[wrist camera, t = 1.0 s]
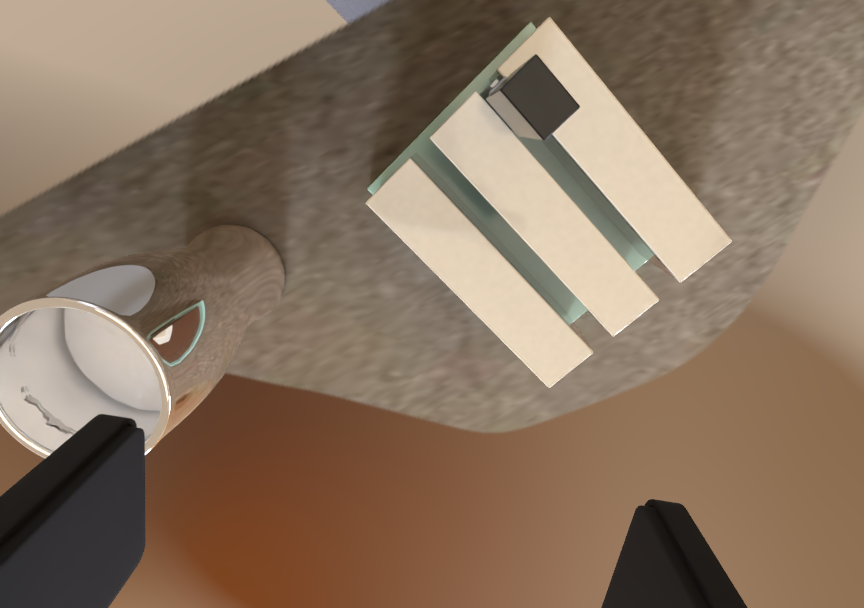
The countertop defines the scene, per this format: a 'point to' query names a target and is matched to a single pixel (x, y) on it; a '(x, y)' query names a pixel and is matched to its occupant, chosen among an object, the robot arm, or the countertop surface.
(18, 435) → the beer glass
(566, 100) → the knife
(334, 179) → the countertop surface
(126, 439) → the robot arm
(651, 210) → the slatted panel
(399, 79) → the countertop surface
